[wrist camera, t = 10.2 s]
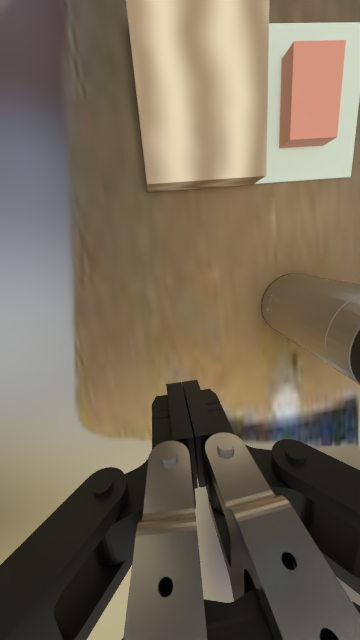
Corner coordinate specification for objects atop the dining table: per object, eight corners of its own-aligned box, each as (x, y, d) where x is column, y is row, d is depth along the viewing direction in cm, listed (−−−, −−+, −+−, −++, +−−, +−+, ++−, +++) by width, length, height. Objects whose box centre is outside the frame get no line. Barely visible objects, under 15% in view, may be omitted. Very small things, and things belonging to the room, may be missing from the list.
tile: (294, 41, 25) (281, 58, 28) (289, 139, 28) (279, 148, 30) (345, 39, 26) (329, 57, 28) (337, 137, 29) (322, 145, 31)
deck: (252, 26, 27) (269, -10, 23) (252, 184, 32) (266, 175, 28) (128, 28, 26) (124, -10, 22) (147, 192, 30) (147, 184, 27)
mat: (364, 25, 28) (367, 22, 28) (348, 177, 33) (350, 176, 33) (254, 26, 27) (255, 23, 27) (253, 184, 32) (255, 183, 31)
